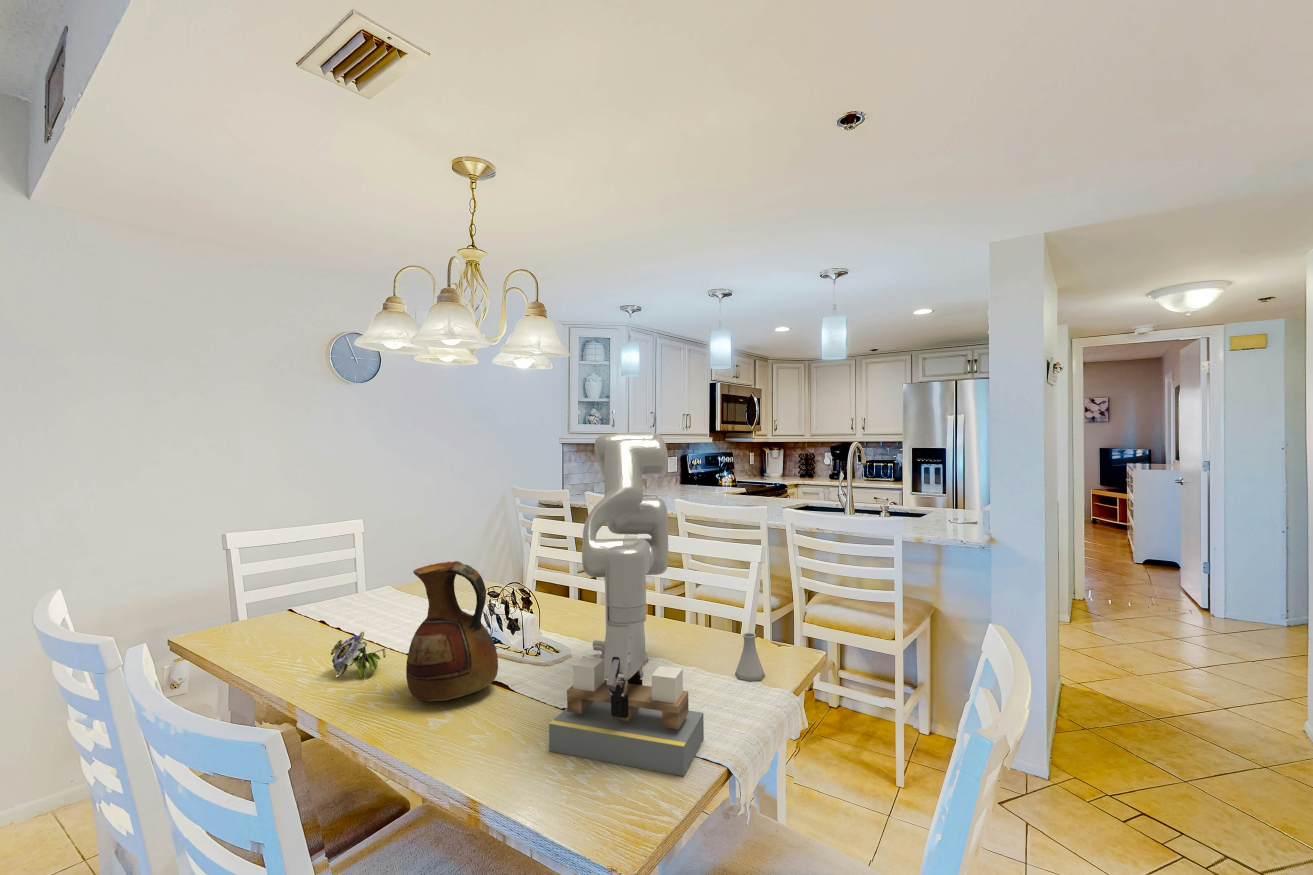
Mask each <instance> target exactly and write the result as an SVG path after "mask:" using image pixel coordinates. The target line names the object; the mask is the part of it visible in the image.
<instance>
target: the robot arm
mask: <svg viewBox="0 0 1313 875" xmlns="http://www.w3.org/2000/svg"><path fill="white" fill-rule="evenodd" d="M594 453H595V457H596V460H597V463H598V465H599V467H600V470H601V471H602V475H603V476H604V484H603V485H604V488H603V490H604V496H603V497H602V498H601V500H599V501H598V502H597V504H595V506H594V507H593V508H592V509H591V511H590V512H589V513H588V515H587V517H586V519H585V522H584V526H583V529H582V546H581V547H582V548H581V550H582V552H581V562H582V563H581V564H582V568H583V571H584V573H585V574H586V575H587V576H589V577H592V578H604V593H605V595H604V596H605V597H604V598H605V604H604V605H605V606H604V607H605V639H604V641H601V640H598V639H597V640H596V639H595V640H593V642H592V650H593V651H597V652H599V651H600V652H601V655H600V656H599V658H600V659H604V679H606V680H607V686H608V687H609V690H610V695H611V715H612V716H615V717H621V718H627V717H628V695H626V691H627V684H628V683H630V684H637V685H643V677H644V671H643V667H644V665H645V664H646V663H647V662H648V661H649V654H648V652H647V651H646V631H645V622H646V621H647V581H646V580H647V579H646V578H647V577H646V576H657V575H659V576H660V575H663V574H664V573H665V572H666V571H667V569H668V567H669V520H668V519H669V516H668V515H669V514H668V509H667V505H666V503H665V501H664V500H663V499H662V498H659V497H655V496H651V497H650V496H649V497H647V496H646V497H644V488H643V487H644V486H643V476H644V475H645V476H647V475H648V476H651V475H655V476H656V475H663V474H664V473H665V472H666V470H667V468H668V463H669V462H668V461H669V455H668V449H667V444H666V441H665V440H664V438H663V436H662V435H661V434H659V433H653V432H652V433H650V432H648V433H647V432H646V433H645V432H644V433H643V432H641V433H640V432H637V433H634V432H631V433H628V432H625V433H616V432H615V433H607V434H602V435H599V436H598V437H596V439H595V441H594ZM605 524H606V525H607V528H608V530H609V532H610V533H612V534H617V535H649V536H650V537H651V538H650V537H649V538H647V537H646V538H641V537H640V538H633V537H632V538H630V537H629V538H602V539H601V538H600V539H597V533H598V532H599V530H600V529H601V528H602V527H603V526H604V525H605ZM619 675H623V677H621V676H619ZM617 682H623V684H622V688H621V686H620V685H618V684H617Z"/></svg>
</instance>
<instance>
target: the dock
mask: <svg viewBox="0 0 1313 875" xmlns="http://www.w3.org/2000/svg"><path fill="white" fill-rule="evenodd" d="M704 720H705V719H704V712H703V711H702V712H701V711H693V710H689V713H688V715H687V716H686V718H685V719H684V721H683V723H682V724H681V726H680V727H679V729H673V728H667V727H662V711H658V710H652V709H645V708H639V709H638V710H637V711H636V713H635V714H634V715H633V716H632V718H631V719H630V720H629V721H624V720H617V719H613V716H612V715H611V703H606V702H600V701H594V702H593V703H592V704H591V705H590V706H589V707H588V708H587V709H586V710H585V711H584V712H583V713H582V714H580V713H574V712H568V711H567V707H566V708H565V709H564V710H563V711H561V712H560V713H559V714H558V715H557V716H556V717H554V719H552V720H551V721H550V722H549V723H548V735H549V736H548V738H549V739H548V746H549V747H548V748H549V749H548V750H549V752H553V753H558V754H564V755H569V756H575V757H580V758H585V759H590V760H594V761H595V760H596V761H600V762H606V763H612V764H616V765H623V766H627V767H632V768H639V769H641V770H642V769H643V770H648V771H654V772H658V773H664V774H670V775H675V776H678V777H679V776H680V777H685V776H686V774H687V772H688V770H689V768H690V766H691V764H692V762H693V761H694V759H695V757H696V755H697V753H698V751H699V749H700V748H701V745H702V743H703V742H704V738H705V735H704V733H705V732H704V727H705V726H704V725H705V724H704V722H705V721H704Z"/></svg>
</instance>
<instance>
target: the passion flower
mask: <svg viewBox="0 0 1313 875" xmlns="http://www.w3.org/2000/svg"><path fill="white" fill-rule="evenodd" d="M364 636H365V631H360V633H359V634H358V635H354V636H351V637H349V638H348V639H346V640H345V641H343V640H342V639H339V640H338V641H337V643H335V644H334V647H333V648H332V649H331V652H330V655H331V656H332V658H331V659H332V660H331V662H332V664H333V665H332V668H334V670H335V672H337V673H336V675H339V677H342V675H344V674H345V672H346V671H347V669H348V667H349V666H350V667H351V666H352V665H354V666H355V667H356V668H357V672H358V677H359V678H360V679H361V678H365V679H366V675H367V671H368V667H369V670H370V675H373V674H374V672H375V670H377V669H378V666H379V661H380V660H381V657H380V655H379V654H377V652H382V653H383V658H386V656H387V655H386V648H385V647H384V648H381V649H380V650H377V651H375V652H369V653H367V649H366V647H367V646H368V642H367V641H362V640H363V639H364ZM378 660H379V661H378ZM367 664H368V665H367ZM336 675H335V676H336Z"/></svg>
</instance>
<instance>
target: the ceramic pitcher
mask: <svg viewBox="0 0 1313 875" xmlns="http://www.w3.org/2000/svg"><path fill="white" fill-rule="evenodd" d="M412 572H413V574H414V575H415V576H416V577H417V578H418V579H420V580H421V581H422V583H423V585H424V587H425V592H426V598H427V600H428V602H427V603H428V609H427V616H426V618H425V619H424V620H423V622H422V623H420V624H419V626H418V628H417V629H416V630H415V633H414V635H413V637H412V639H411V642H410V644H409V648H408V649H409V650H408V653H407V658H406V669H405V673H406V675H405V676H406V684H407V688H408V690H409V693H410V694H411V695H410V696H413V698H415V699H416V700H420V701H426V702H431V701H432V702H436V701H437V702H438V701H449V700H451V699H457V698H461V697H465V696H468V695H471V694H473V693H475V692H477V691H481V690H483V689H484V688H486V687H487V686H489V685H490V684H493V682H494V681H495V679H496V677H497V675H498V670H499V658H498V652H497V649H496V644H495V642H494V640H493V638H492V636H491V635H490V633H489V631H488V629H487V628H486V626H484V624H483V622H482V615H483V611H484V608H485V604H486V600H487V590H486V585H485V582H484V580H483V577H482V576H481V574H480V572H479V571H478V570H477V569H475V568H473V567H472V566H471V565H468V564H464V563H462V562H461V561H458V560H455V561H446V562H438V563H434V564H429V565H425V566H422V567H419V568H416V569H413V571H412ZM457 575H458V576H461V577H463V578H465V579H466V580H467V581H468V582H469V583H470V584H471V586H472V588H473V591H474V592H475V597H476V603H475V605H476V606H475V610H474V614H471V613H468V612H466V611H463V609H461V607H460V606H459V603H458V600H457V597H456V592H455V579H456V577H457Z"/></svg>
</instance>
